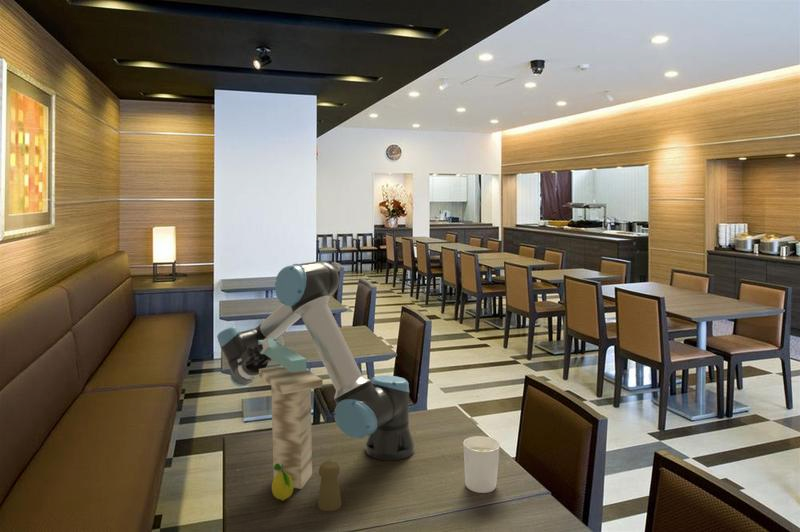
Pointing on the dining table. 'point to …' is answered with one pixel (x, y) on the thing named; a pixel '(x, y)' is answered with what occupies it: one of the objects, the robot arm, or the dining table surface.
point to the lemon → (282, 484)
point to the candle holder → (481, 463)
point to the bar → (285, 356)
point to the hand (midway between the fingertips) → (275, 341)
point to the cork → (329, 487)
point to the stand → (292, 420)
